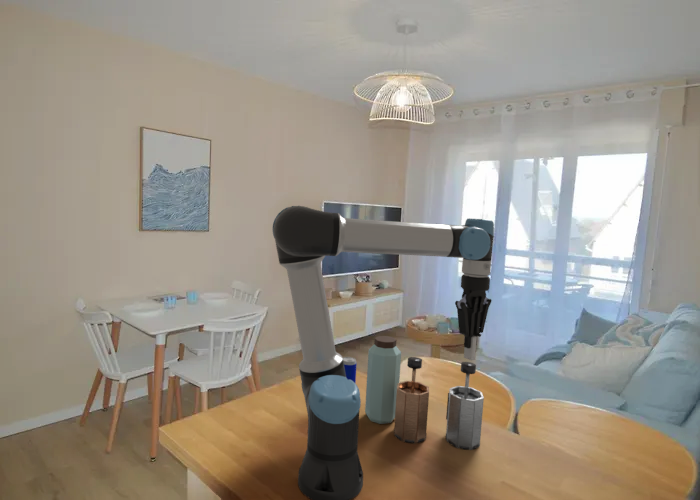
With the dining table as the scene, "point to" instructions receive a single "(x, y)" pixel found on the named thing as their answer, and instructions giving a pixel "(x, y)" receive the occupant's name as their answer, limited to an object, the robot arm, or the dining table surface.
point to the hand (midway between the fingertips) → (469, 358)
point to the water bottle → (382, 380)
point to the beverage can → (350, 368)
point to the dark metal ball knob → (467, 378)
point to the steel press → (464, 418)
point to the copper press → (411, 413)
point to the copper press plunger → (414, 373)
